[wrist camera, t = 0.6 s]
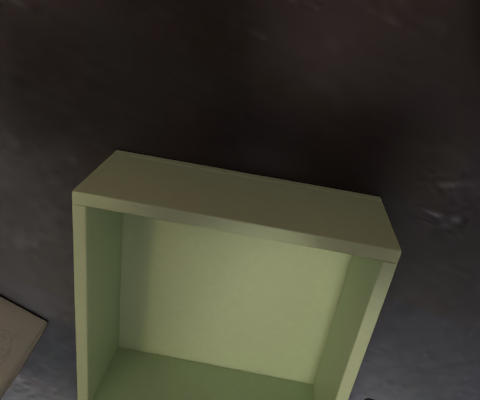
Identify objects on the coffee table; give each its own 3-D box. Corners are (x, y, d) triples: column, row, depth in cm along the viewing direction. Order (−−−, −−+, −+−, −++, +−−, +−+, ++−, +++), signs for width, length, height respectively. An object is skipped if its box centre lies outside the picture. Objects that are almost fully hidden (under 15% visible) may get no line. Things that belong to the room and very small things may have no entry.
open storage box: (320, 387, 28) (325, 464, 23) (112, 345, 28) (77, 414, 24) (380, 196, 22) (402, 251, 17) (116, 149, 22) (70, 190, 18)
